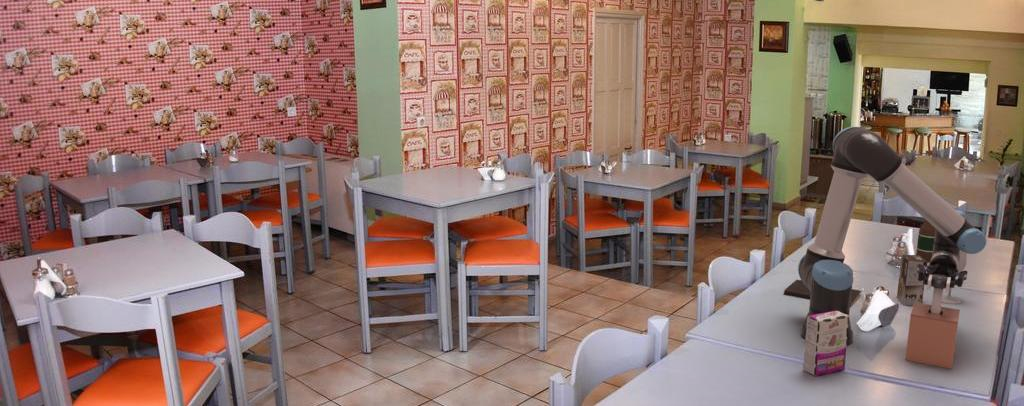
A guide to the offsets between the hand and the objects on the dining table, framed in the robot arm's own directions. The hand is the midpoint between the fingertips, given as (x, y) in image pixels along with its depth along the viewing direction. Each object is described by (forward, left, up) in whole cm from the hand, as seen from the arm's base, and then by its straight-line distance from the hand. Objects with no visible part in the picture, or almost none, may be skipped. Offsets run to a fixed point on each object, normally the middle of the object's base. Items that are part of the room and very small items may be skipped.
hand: (938, 286), depth 227 cm
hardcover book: (+19, +58, -24) cm, 66 cm away
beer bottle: (+93, +74, -23) cm, 121 cm away
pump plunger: (+3, +2, -20) cm, 20 cm away
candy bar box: (-32, +9, -23) cm, 40 cm away
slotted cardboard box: (+4, +3, -23) cm, 24 cm away
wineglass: (+55, +35, -23) cm, 70 cm away
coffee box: (+41, +40, -23) cm, 62 cm away
